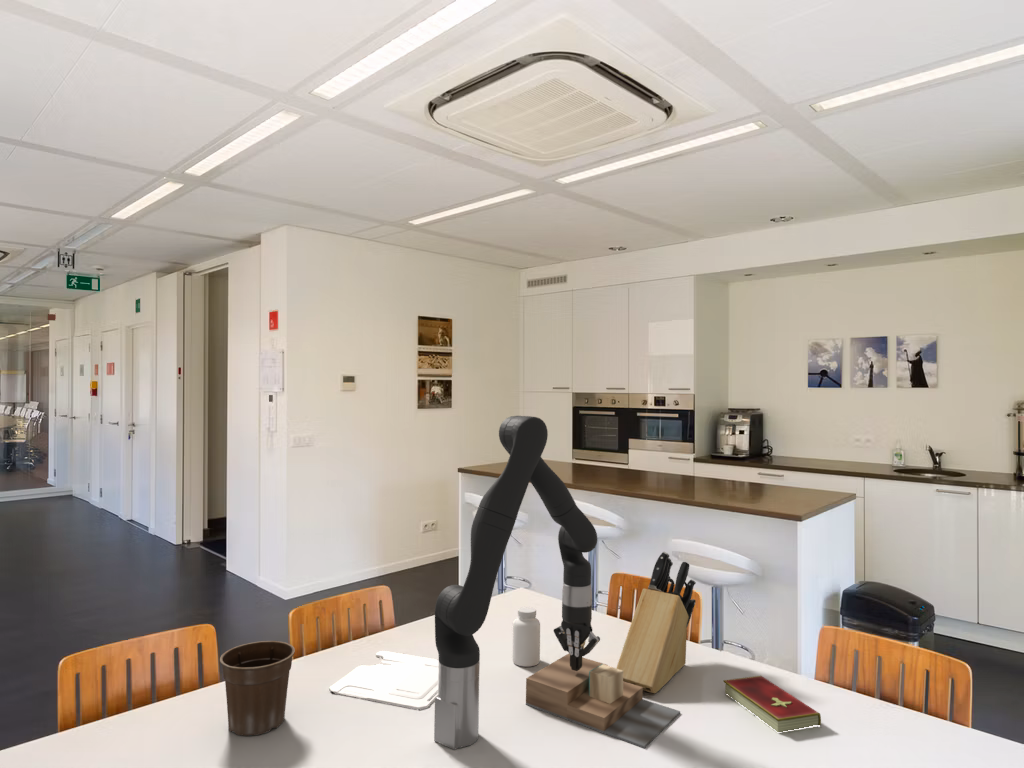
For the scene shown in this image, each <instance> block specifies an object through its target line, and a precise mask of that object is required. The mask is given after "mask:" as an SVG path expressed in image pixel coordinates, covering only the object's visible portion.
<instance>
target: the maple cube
mask: <svg viewBox="0 0 1024 768" xmlns="http://www.w3.org/2000/svg"><path fill="white" fill-rule="evenodd" d="M604 664H605V663H603V664H602V665H600V666H598V667H596V668H594V669H593V670H591V671H589V696H590V697H593V698H596V699H598V700H601V701H603V702H606V703H609V704H611V703H612V702H614V701H615V700H617V699H618V698H620V697H621V696H623V671H622V670H619V669H616V668H617V667H612V666H610V665H608V664H607V665H608V666H607V665H604Z"/></svg>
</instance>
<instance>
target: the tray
mask: <svg viewBox="0 0 1024 768" xmlns="http://www.w3.org/2000/svg"><path fill="white" fill-rule="evenodd" d="M375 657H376V658H379V657H381V658H380V659H382V660H381V661H380V663H381V662H382V663H386V664H391V665H383V664H380V663H378V664H373V665H365V664H361V665H360V664H359V665H357V666H356V667H355V668H353V670H351V671H350V672H348V673H347V674H346V675H344V676H343V677H341V678H340V679H338V680H337V681H336V682H334V683H333V684H331V685H330V686H329V688H328V689H329V691H330V692H333V694H334V693H335V694H334V695H338V694H340V696H343V695H346V697H349V696H351V697H350V698H354V697H356V698H355V699H359V698H361V699H360V700H364V699H366V701H369V700H370V701H371V702H375V701H376V702H375V703H380V702H382V703H381V704H385V703H387V704H386V705H390V704H392V705H391V706H396V705H397V706H396V707H401V708H402V707H403V708H406V709H407V708H408V709H411V708H412V710H417V709H418V710H417V711H420V710H424V708H425V709H428V708H427V707H428V706H429V705H430V704H431V705H432V703H434V702H435V698H436V697H438V671H439V658H438V659H436V658H432V657H431V658H430V657H427V656H426V657H424V656H419V655H413V654H407V653H401V652H394V651H388V650H380V651H377V652H376V653H375ZM429 707H430V706H429ZM419 709H420V710H419Z"/></svg>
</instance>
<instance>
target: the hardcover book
mask: <svg viewBox="0 0 1024 768" xmlns="http://www.w3.org/2000/svg"><path fill="white" fill-rule="evenodd" d="M723 683H724V685H725V689H724V691H725V693H726V694H728V695H729V696H730V697H732V698H733V699H734V700H736V701H737V702H739V703H740V704H741V705H743V706H744V707H746V708H747V709H748V710H750V711H751V712H752V713H754V714H755V715H756V716H758V717H759V718H760V719H761V720H763V721H764V722H765V723H767V724H768V725H769V726H771V727H772V728H773V729H775V730H776V731H777V732H783V731H788V730H794V729H799V728H804V727H809V726H813V725H821V726H822V718H821V717H822V716H821V713H819V711H817V710H815V709H814V708H812V707H811V706H809V705H808V704H806V703H804V702H802V701H801V700H800V699H799V698H797V697H795V696H794V695H792V694H790V693H789V692H787V691H786V690H784V689H783V688H781V687H780V686H777V685H776V683H775V684H774V683H773V682H772V681H770V680H769V679H767V678H765V677H764V676H762V675H755V676H749V677H747V676H745V677H739V678H731V679H724V680H723ZM725 693H724V694H725ZM734 700H733V701H734ZM765 723H764V724H765ZM769 726H768V727H769ZM773 729H772V730H773ZM777 732H776V733H777Z"/></svg>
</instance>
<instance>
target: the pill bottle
mask: <svg viewBox="0 0 1024 768" xmlns="http://www.w3.org/2000/svg"><path fill="white" fill-rule="evenodd" d="M511 652H512V654H511V656H512V657H511V658H512V662H513V664H515V665H516V666H520V667H525V668H527V667H534V666H536V665H538V664H539V663H540V660H541V622H540V620H539V619H538V618H537V609H536V608H534V607H530V606H522V607H519V608H518V609H517V617H516V618H515V619H514V620H513V622H512V651H511Z"/></svg>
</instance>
